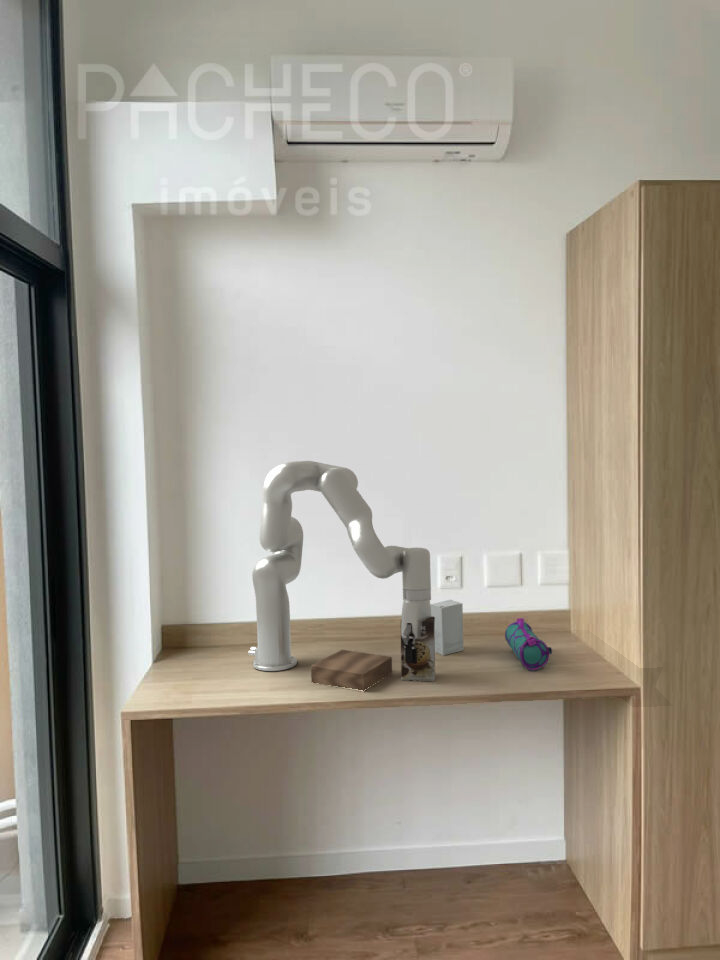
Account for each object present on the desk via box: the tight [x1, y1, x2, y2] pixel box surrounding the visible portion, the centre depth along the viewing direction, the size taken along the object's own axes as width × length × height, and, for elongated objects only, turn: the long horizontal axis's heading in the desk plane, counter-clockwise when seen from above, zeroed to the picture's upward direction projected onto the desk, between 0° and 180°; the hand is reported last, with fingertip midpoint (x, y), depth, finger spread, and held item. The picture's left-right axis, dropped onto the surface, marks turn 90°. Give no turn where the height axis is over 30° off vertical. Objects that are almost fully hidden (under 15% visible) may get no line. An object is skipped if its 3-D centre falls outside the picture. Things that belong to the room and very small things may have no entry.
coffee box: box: [400, 617, 436, 682], centre depth 190 cm, size 9×6×16 cm
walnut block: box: [310, 649, 393, 691], centre depth 191 cm, size 16×16×5 cm
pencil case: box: [504, 618, 553, 672], centre depth 203 cm, size 21×9×10 cm, turn 1°
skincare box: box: [430, 599, 464, 656], centre depth 213 cm, size 8×6×15 cm
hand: (418, 658), depth 190 cm, fingers closed on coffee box, 8 cm apart
